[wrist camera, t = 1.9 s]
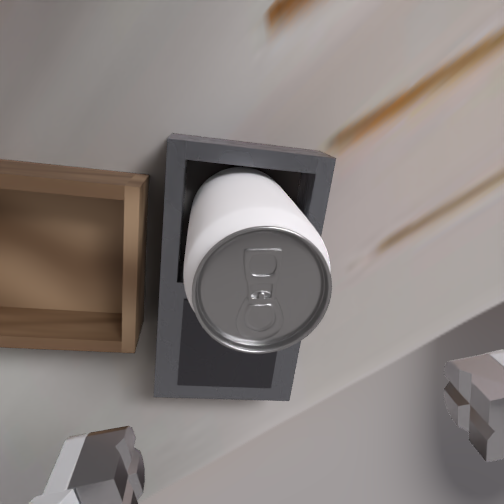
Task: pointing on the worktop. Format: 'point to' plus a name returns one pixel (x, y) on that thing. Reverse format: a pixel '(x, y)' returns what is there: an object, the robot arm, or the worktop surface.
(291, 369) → the tray
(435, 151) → the worktop surface
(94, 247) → the box
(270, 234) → the can
